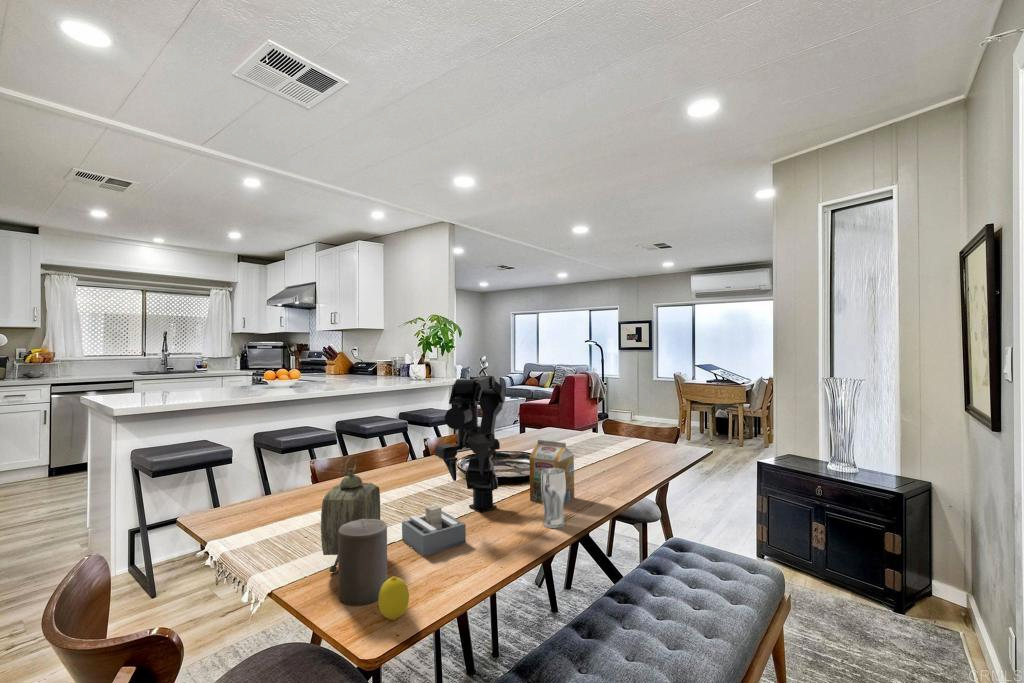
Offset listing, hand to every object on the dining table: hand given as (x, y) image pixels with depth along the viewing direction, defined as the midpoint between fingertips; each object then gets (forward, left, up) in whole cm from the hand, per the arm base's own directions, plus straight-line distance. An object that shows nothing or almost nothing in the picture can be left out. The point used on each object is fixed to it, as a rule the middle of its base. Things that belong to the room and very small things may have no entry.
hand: (468, 477), depth 134 cm
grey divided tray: (+5, -14, -13) cm, 20 cm away
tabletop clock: (+3, -34, -13) cm, 37 cm away
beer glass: (+16, +18, -13) cm, 27 cm away
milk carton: (0, +32, -13) cm, 35 cm away
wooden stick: (+5, -14, -12) cm, 19 cm away
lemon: (+31, -36, -13) cm, 49 cm away
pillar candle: (+18, -37, -13) cm, 43 cm away
